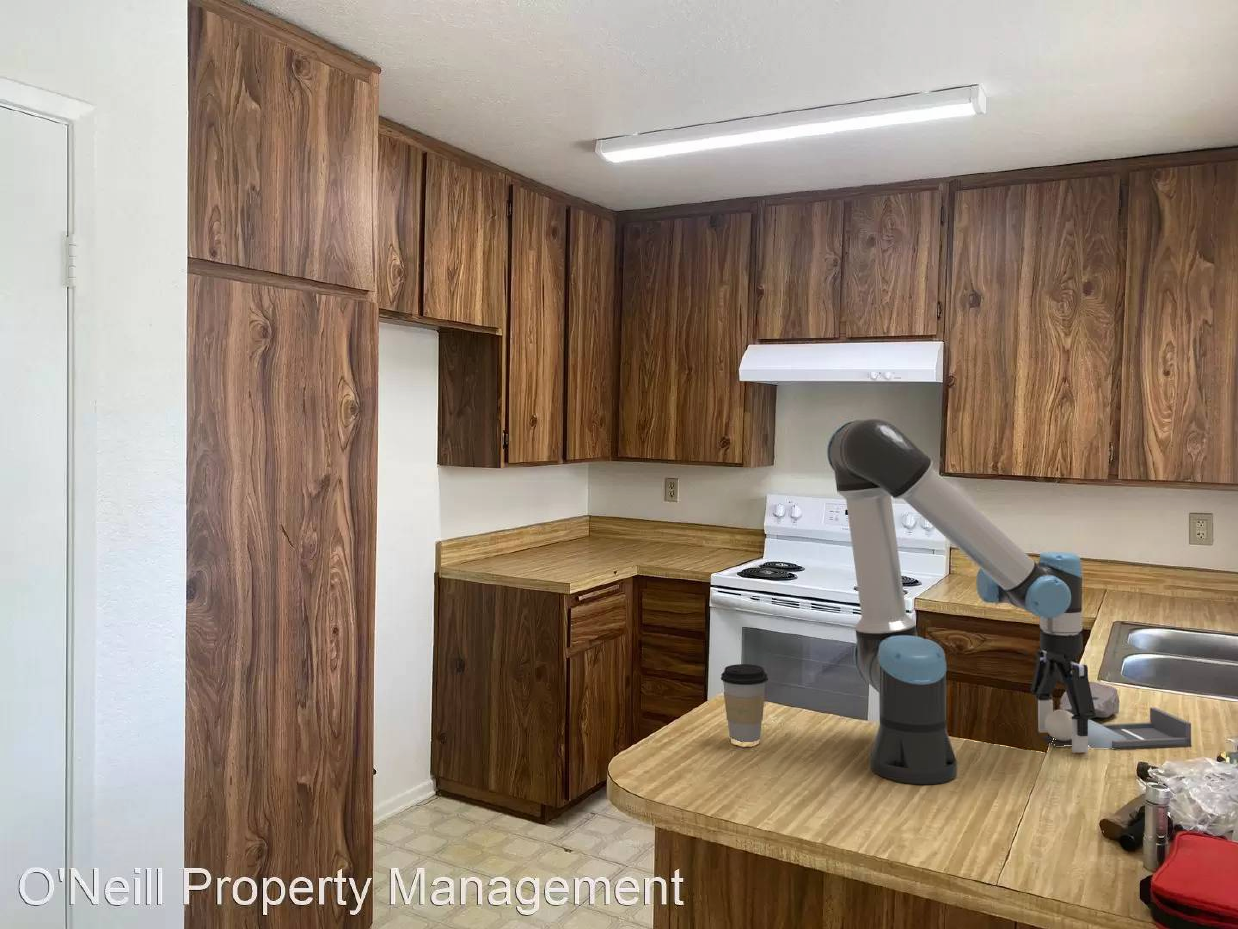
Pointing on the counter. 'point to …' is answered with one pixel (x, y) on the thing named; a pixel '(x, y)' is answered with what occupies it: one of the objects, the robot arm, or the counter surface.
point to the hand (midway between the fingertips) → (1062, 741)
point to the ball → (1059, 725)
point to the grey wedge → (1101, 736)
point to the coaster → (1057, 741)
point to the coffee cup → (744, 700)
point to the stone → (1097, 700)
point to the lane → (1153, 732)
